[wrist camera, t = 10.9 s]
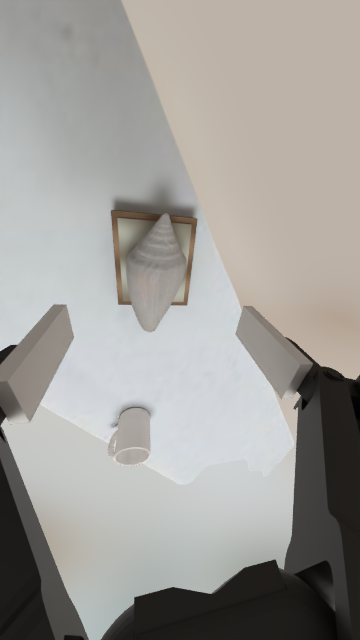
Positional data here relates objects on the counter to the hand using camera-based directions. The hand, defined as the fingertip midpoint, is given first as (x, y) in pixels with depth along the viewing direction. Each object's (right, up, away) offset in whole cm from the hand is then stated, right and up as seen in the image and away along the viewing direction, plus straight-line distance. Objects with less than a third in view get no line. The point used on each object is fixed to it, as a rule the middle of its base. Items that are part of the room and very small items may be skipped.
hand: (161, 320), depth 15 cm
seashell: (-3, +7, +16) cm, 18 cm away
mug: (-13, -28, +39) cm, 49 cm away
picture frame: (-3, +10, +18) cm, 21 cm away
